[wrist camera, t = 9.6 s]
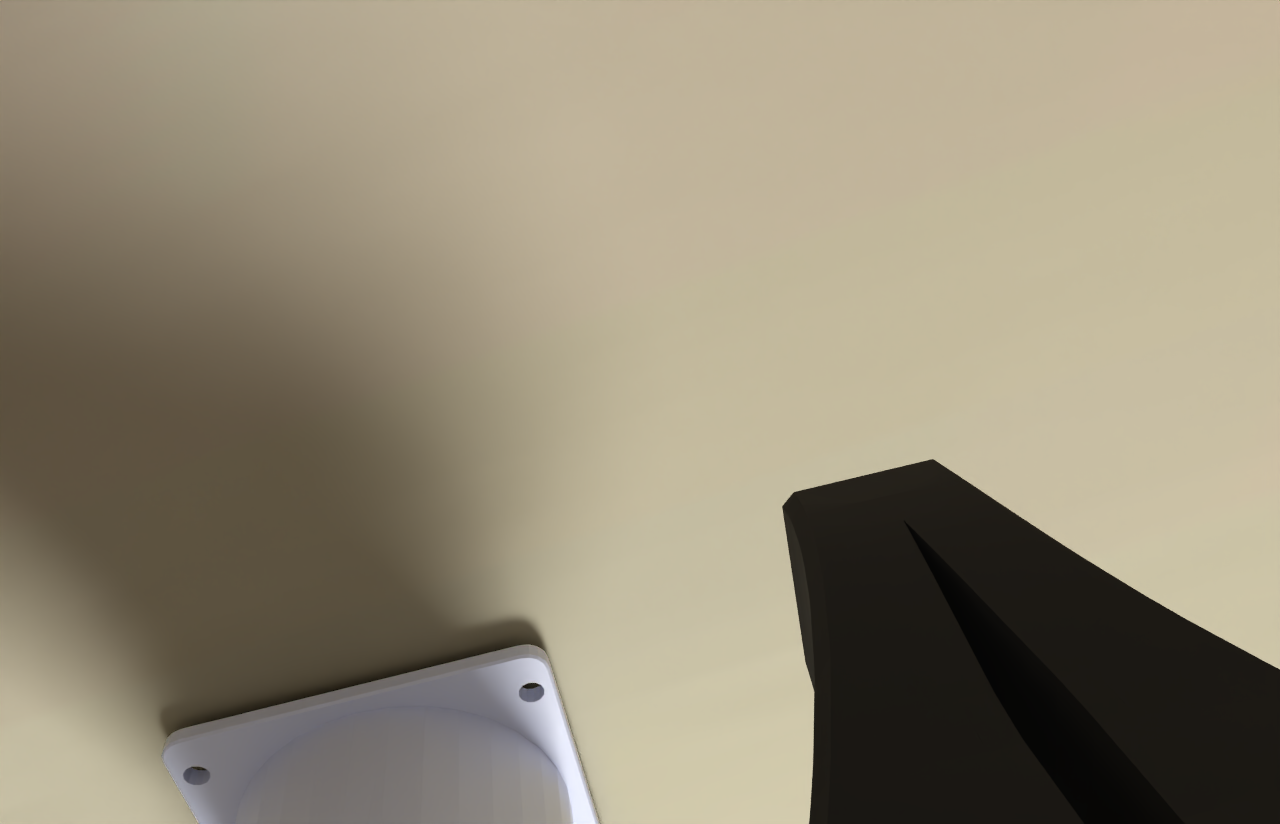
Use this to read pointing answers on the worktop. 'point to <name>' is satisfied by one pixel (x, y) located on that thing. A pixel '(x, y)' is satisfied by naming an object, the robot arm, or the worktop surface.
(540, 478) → the worktop surface
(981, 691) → the robot arm
